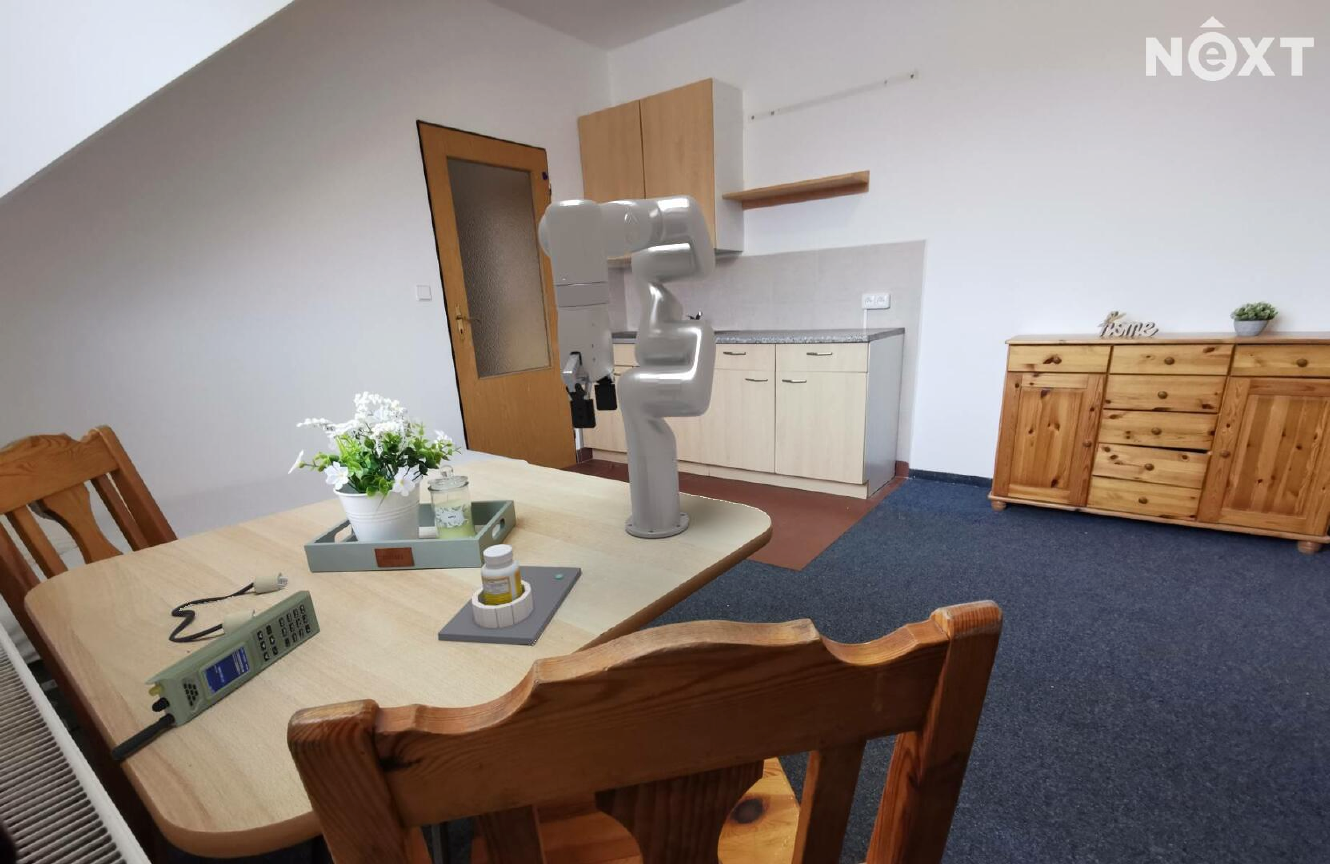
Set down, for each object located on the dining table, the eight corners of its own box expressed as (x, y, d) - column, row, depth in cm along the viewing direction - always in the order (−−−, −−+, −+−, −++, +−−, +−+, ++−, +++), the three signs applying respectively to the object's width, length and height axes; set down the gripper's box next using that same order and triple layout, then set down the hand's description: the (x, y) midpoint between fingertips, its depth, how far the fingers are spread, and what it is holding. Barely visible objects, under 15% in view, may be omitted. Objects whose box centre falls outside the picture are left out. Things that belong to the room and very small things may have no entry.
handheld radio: (324, 631, 83) (128, 768, 59) (307, 630, 83) (106, 764, 60) (313, 590, 81) (107, 714, 58) (295, 589, 82) (85, 711, 59)
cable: (131, 663, 79) (124, 641, 78) (182, 606, 93) (176, 588, 93) (262, 633, 84) (256, 612, 83) (290, 584, 99) (286, 566, 98)
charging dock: (504, 570, 97) (501, 549, 96) (581, 573, 95) (579, 551, 94) (438, 639, 78) (434, 614, 77) (533, 645, 75) (529, 618, 75)
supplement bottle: (501, 625, 79) (492, 562, 77) (479, 613, 82) (469, 553, 80) (532, 607, 83) (524, 547, 81) (510, 597, 86) (502, 539, 84)
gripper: (580, 295, 86) (592, 404, 91) (529, 304, 70) (548, 436, 75) (627, 292, 84) (637, 403, 89) (586, 300, 68) (601, 435, 73)
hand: (596, 418), depth 82 cm, fingers open, 9 cm apart
